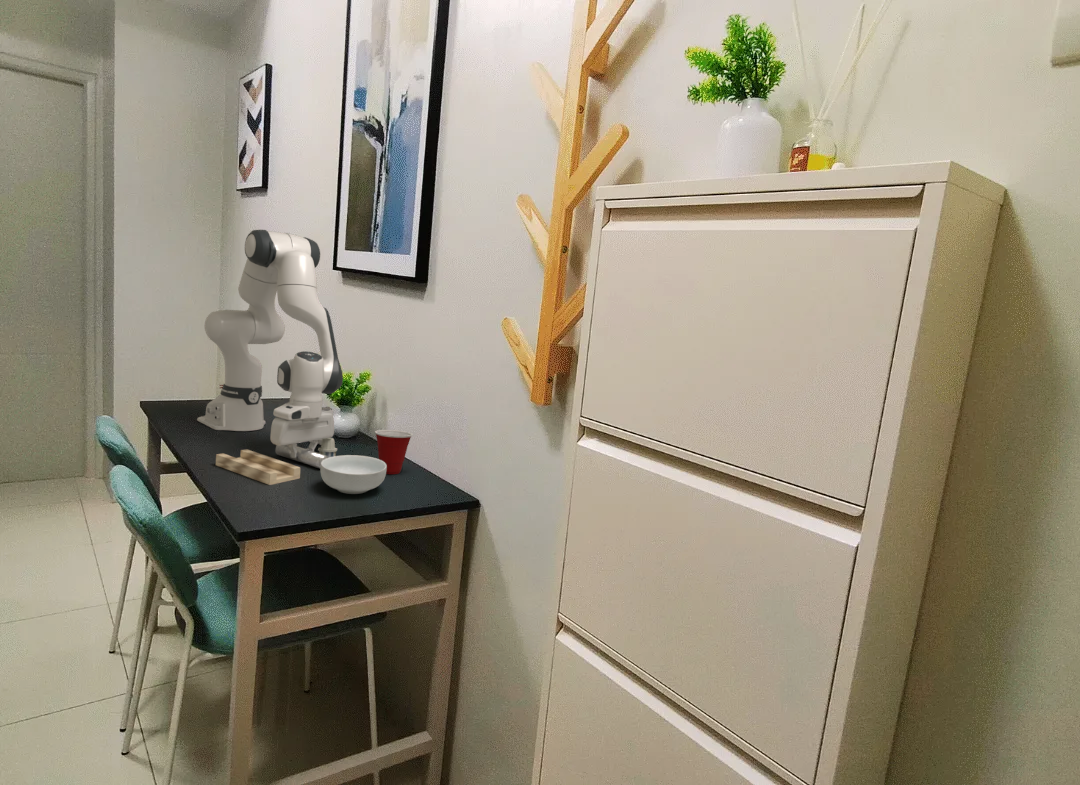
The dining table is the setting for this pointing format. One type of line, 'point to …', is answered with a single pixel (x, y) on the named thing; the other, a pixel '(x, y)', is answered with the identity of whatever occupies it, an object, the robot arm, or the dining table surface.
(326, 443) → the toothbrush head
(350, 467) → the cereal bowl
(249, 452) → the v block
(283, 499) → the dining table surface
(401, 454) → the plastic cup
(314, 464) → the axle
